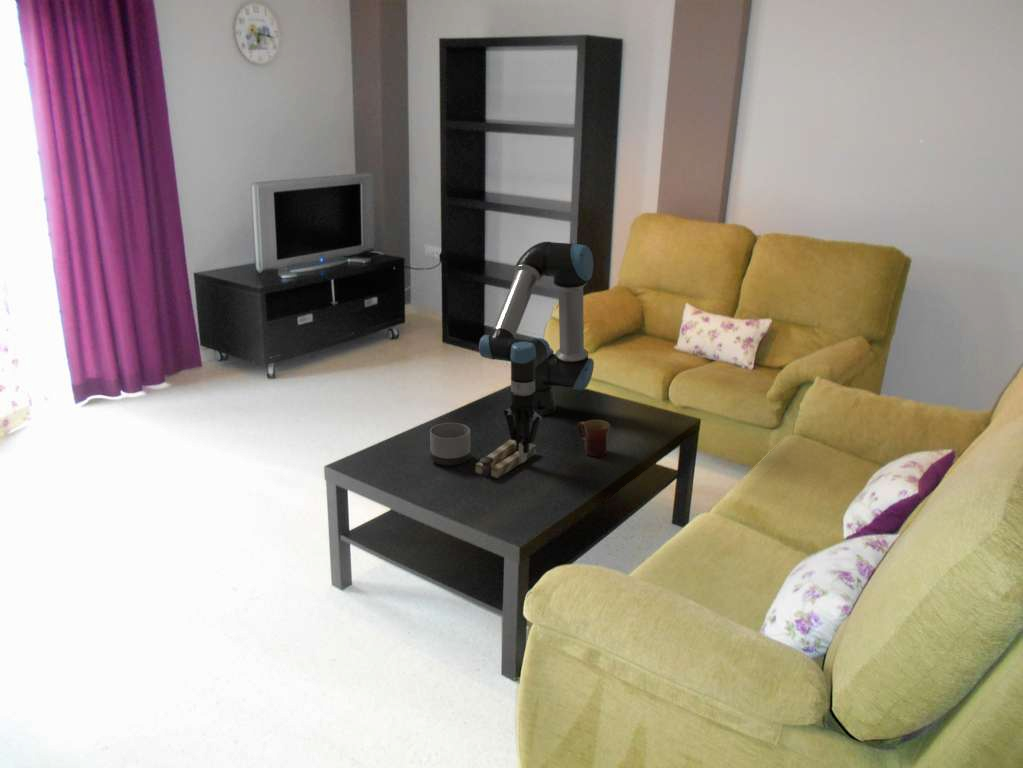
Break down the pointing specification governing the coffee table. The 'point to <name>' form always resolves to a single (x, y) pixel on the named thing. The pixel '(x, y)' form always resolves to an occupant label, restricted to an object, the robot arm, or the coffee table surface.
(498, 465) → the tongs jaw
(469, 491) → the coffee table surface
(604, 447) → the mug
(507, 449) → the tongs fixed
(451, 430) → the planter
